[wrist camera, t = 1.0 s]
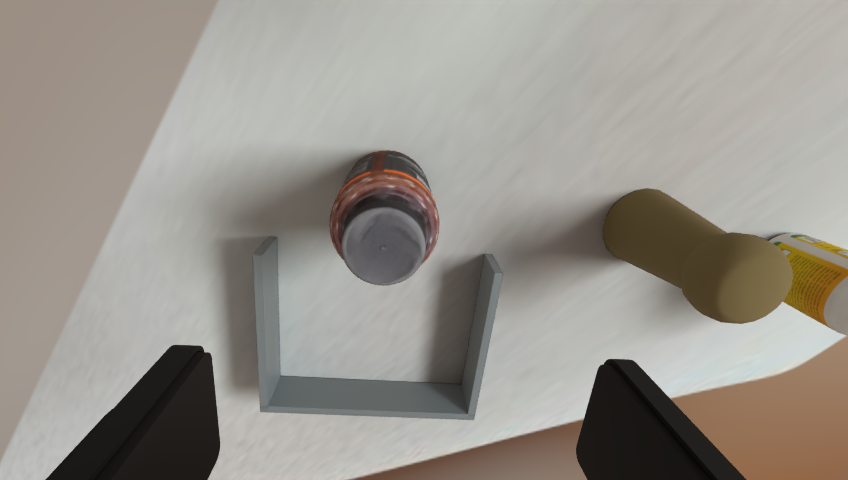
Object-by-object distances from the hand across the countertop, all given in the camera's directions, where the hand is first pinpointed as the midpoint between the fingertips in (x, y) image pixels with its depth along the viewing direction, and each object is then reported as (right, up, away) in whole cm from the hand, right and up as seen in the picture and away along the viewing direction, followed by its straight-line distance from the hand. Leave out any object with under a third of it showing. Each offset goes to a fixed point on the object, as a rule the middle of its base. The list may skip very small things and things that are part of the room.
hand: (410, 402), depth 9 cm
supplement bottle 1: (-2, +8, +19) cm, 21 cm away
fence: (-3, -3, +23) cm, 23 cm away
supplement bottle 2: (+30, +2, +24) cm, 38 cm away
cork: (+17, +5, +22) cm, 28 cm away
